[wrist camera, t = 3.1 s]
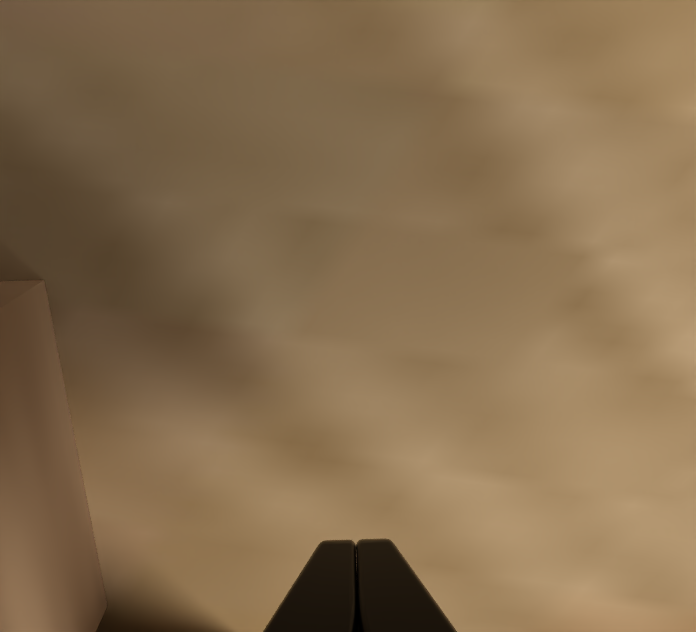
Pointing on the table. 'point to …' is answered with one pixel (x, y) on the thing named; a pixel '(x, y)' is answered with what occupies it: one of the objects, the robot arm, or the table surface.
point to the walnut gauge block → (41, 480)
